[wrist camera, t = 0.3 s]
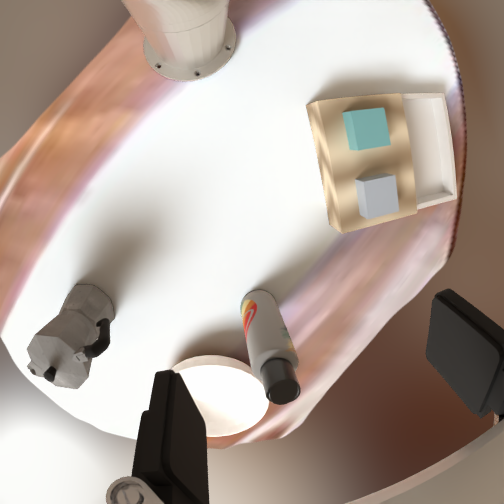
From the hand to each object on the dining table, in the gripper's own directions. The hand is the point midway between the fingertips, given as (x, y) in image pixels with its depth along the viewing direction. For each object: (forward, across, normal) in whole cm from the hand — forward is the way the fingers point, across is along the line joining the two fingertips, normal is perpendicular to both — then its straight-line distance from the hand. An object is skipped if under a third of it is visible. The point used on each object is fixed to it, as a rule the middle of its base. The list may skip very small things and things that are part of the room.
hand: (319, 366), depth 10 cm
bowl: (+35, +13, +32) cm, 49 cm away
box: (+35, -31, -2) cm, 46 cm away
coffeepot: (+35, +27, +11) cm, 46 cm away
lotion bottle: (+35, +1, +17) cm, 39 cm away
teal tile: (+30, -18, -6) cm, 35 cm away
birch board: (+35, -19, -2) cm, 39 cm away
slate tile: (+30, -18, +2) cm, 35 cm away
